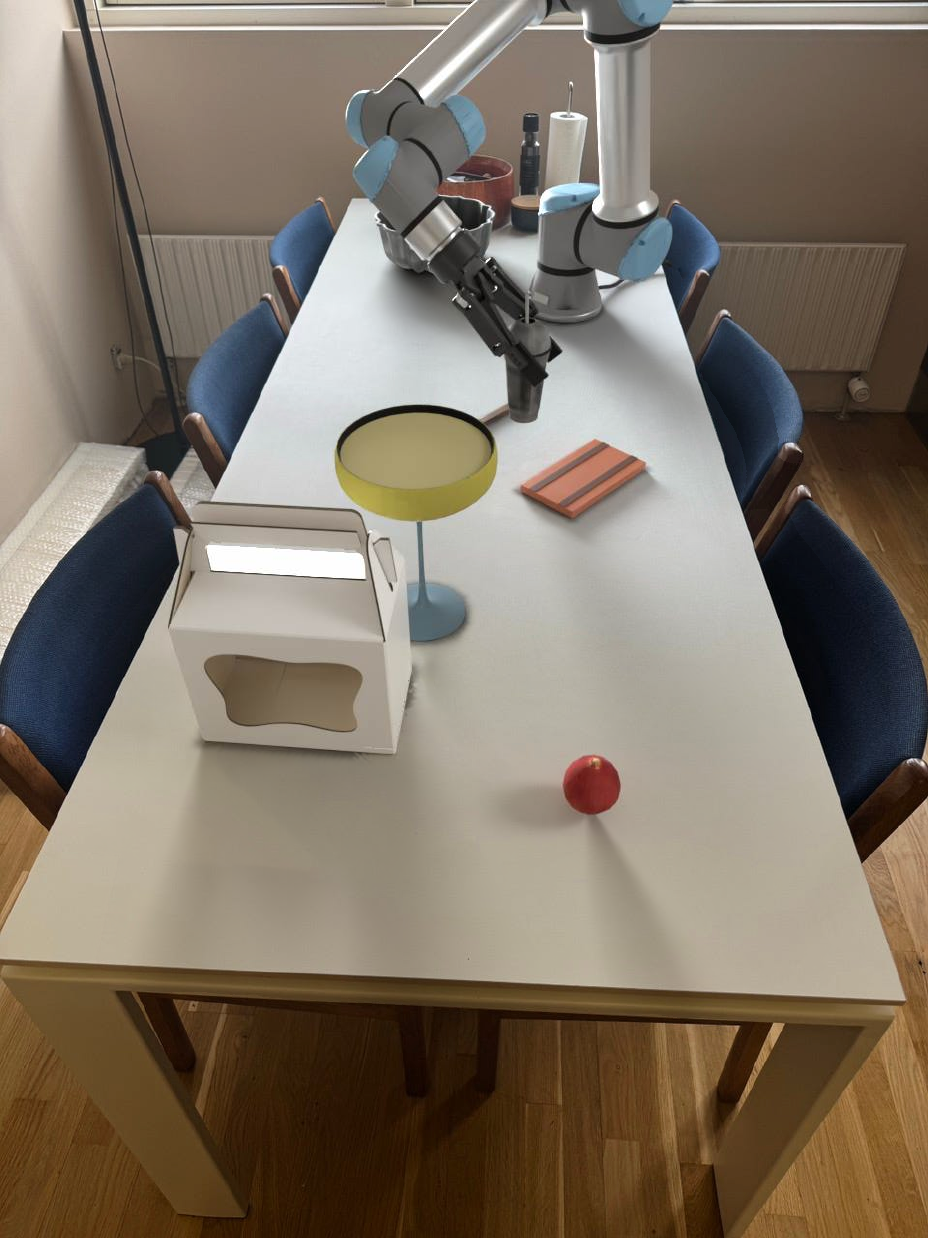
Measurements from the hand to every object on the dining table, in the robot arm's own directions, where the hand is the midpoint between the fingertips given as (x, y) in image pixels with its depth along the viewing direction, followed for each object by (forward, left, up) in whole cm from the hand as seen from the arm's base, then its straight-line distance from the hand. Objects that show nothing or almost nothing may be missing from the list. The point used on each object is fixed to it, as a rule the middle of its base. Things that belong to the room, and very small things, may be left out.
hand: (548, 368), depth 133 cm
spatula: (+1, -13, -15) cm, 20 cm away
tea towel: (+1, +9, -15) cm, 17 cm away
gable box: (+59, +15, -15) cm, 63 cm away
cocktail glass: (+39, +13, -15) cm, 44 cm away
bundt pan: (-45, -70, -15) cm, 84 cm away
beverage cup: (+2, -3, -9) cm, 9 cm away
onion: (+48, +47, -15) cm, 69 cm away
